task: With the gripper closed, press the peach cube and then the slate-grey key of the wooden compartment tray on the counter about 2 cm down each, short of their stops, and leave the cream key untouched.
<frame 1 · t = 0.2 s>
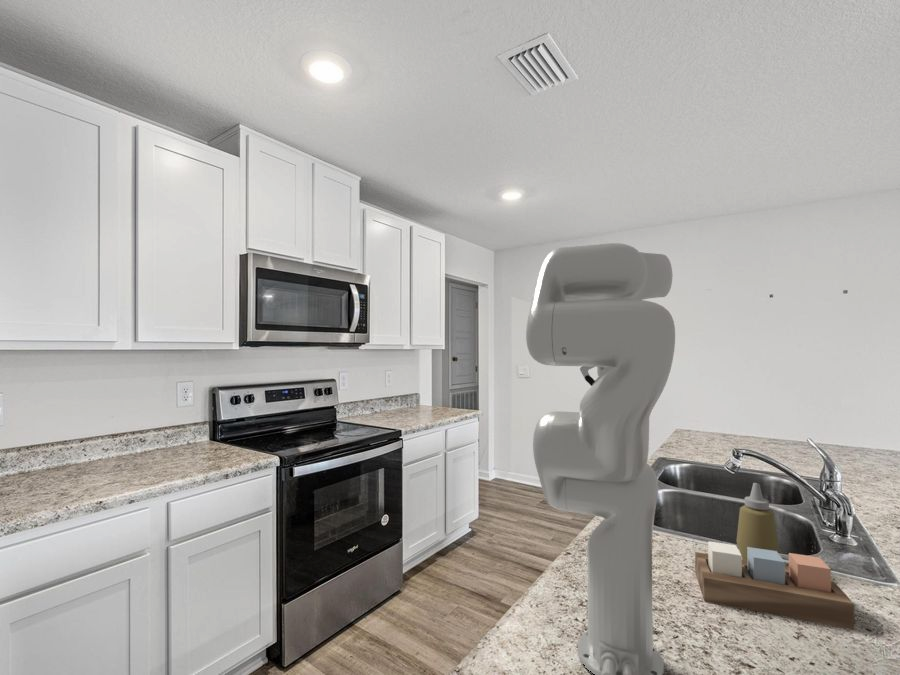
hand: (623, 408, 92), 37 cm above the countertop, tool pointing down, fingers open, 9 cm apart
peach cube: (809, 574, 85), point 6 cm above the countertop, slide at 0.0 cm
squeeze bottle: (757, 563, 102), on the countertop
key slate: (765, 567, 87), point 6 cm above the countertop, slide at 0.0 cm
key cream: (724, 561, 90), point 6 cm above the countertop, slide at 0.0 cm
wooden compartment tray: (765, 597, 87), on the countertop
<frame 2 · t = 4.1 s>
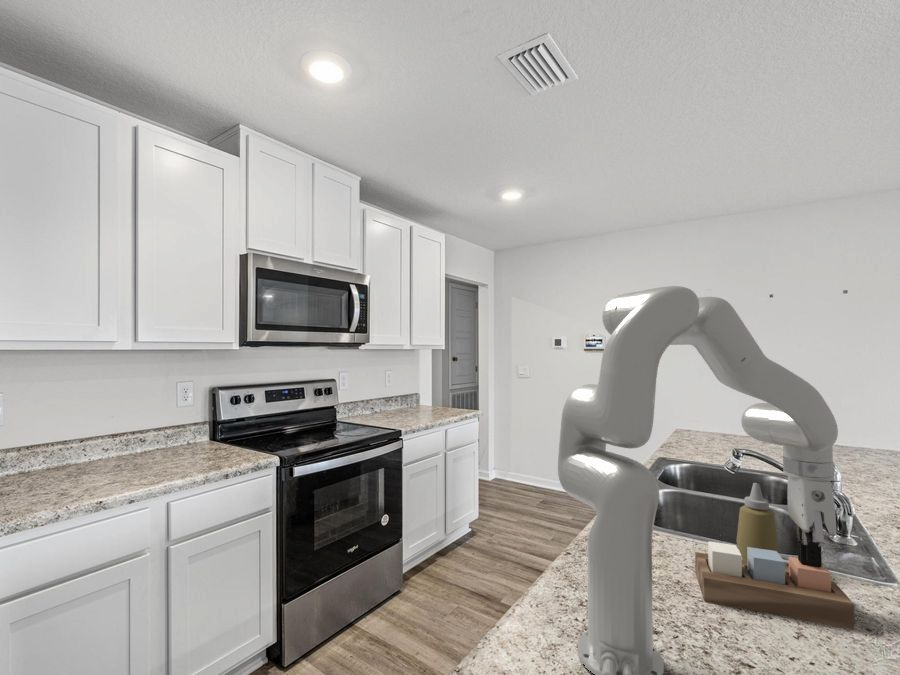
hand: (809, 564, 85), 8 cm above the countertop, tool pointing down, fingers closed
peach cube: (809, 578, 85), point 5 cm above the countertop, slide at 0.7 cm, touching gripper
everything else where it was.
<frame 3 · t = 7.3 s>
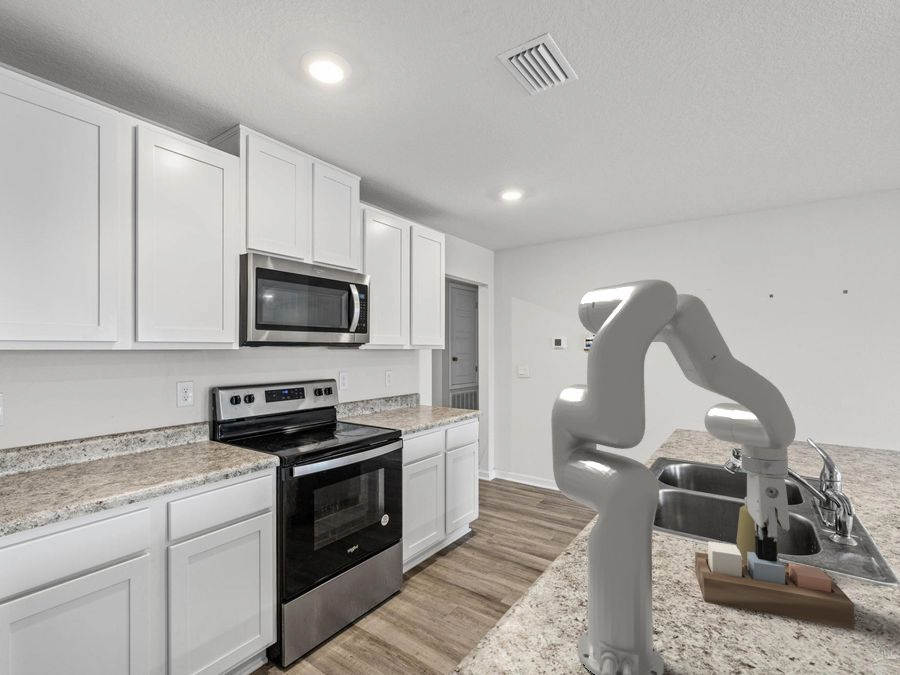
hand: (766, 558, 87), 8 cm above the countertop, tool pointing down, fingers closed
peach cube: (809, 585, 85), point 4 cm above the countertop, slide at 2.0 cm
key slate: (765, 572, 87), point 5 cm above the countertop, slide at 1.0 cm, touching gripper
everything else where it was.
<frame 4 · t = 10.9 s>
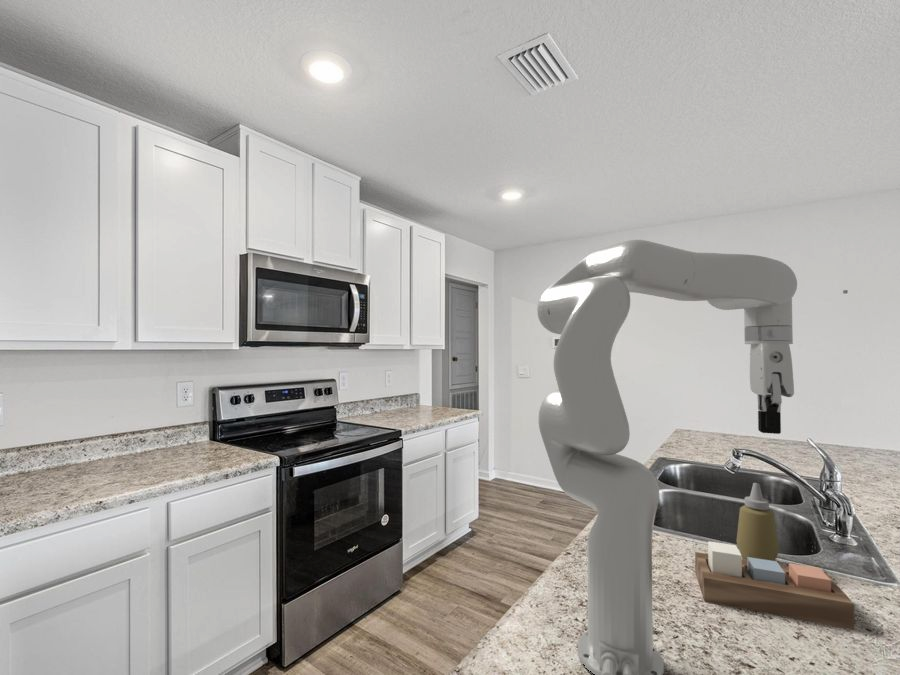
hand: (769, 432, 84), 33 cm above the countertop, tool pointing down, fingers closed
key slate: (765, 578, 87), point 4 cm above the countertop, slide at 2.0 cm
everything else where it was.
at the end: peach cube slide at 2.0 cm; key slate slide at 2.0 cm; key cream slide at 0.0 cm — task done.
